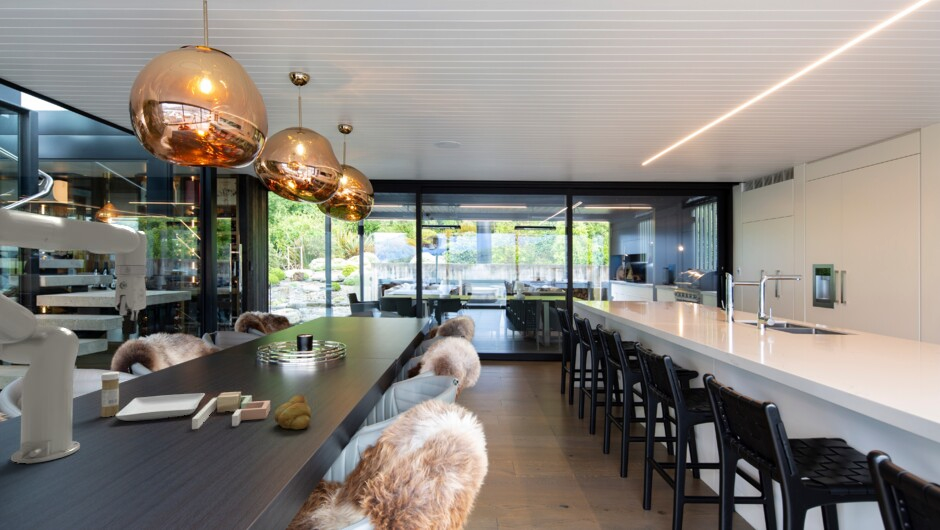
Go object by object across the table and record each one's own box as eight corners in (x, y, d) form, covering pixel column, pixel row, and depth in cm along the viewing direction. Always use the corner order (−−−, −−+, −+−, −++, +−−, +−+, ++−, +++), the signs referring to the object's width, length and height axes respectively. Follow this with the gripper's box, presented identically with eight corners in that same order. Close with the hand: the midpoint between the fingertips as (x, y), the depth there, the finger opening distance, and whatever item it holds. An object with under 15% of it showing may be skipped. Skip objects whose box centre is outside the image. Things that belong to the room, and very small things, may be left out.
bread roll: (316, 429, 136) (316, 401, 136) (281, 435, 131) (281, 406, 131) (304, 418, 147) (304, 392, 147) (271, 423, 141) (271, 396, 141)
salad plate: (195, 418, 147) (195, 407, 147) (113, 426, 139) (113, 414, 140) (205, 401, 167) (205, 391, 167) (134, 407, 159) (134, 397, 159)
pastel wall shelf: (263, 423, 141) (263, 413, 141) (191, 429, 135) (192, 418, 136) (273, 402, 164) (273, 393, 164) (213, 406, 159) (213, 397, 159)
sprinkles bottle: (118, 412, 152) (119, 370, 153) (119, 415, 149) (120, 373, 149) (100, 415, 149) (101, 372, 150) (100, 418, 146) (101, 374, 146)
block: (237, 411, 154) (237, 395, 154) (217, 412, 153) (217, 397, 153) (240, 406, 160) (241, 391, 160) (221, 407, 158) (221, 392, 158)
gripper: (134, 271, 133) (133, 336, 133) (154, 272, 148) (153, 330, 147) (103, 271, 131) (102, 337, 131) (126, 272, 146) (125, 331, 145)
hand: (129, 333), depth 139 cm, fingers closed
